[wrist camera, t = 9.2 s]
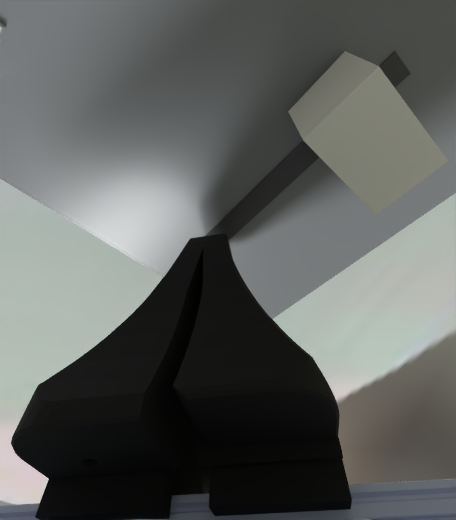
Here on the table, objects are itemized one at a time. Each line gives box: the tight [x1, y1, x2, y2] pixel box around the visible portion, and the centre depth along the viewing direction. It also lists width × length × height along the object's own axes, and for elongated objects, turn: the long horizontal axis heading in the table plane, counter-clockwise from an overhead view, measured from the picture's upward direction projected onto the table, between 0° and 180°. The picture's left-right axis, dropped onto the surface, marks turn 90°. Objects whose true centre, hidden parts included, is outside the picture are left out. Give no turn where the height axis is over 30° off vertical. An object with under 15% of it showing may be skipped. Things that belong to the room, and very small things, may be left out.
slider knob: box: [288, 51, 448, 215], centre depth 9 cm, size 3×2×2 cm, turn 49°
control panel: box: [0, 0, 456, 319], centre depth 10 cm, size 20×14×3 cm
